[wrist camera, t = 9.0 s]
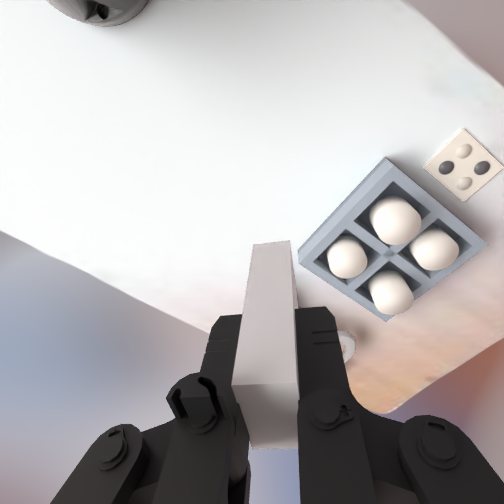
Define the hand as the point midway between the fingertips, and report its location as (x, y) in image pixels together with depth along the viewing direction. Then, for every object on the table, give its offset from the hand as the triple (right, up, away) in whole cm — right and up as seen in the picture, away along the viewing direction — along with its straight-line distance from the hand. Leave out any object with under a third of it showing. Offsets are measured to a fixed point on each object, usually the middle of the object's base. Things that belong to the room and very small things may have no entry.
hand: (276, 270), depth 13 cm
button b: (+19, -4, +34) cm, 40 cm away
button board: (+19, +2, +34) cm, 39 cm away
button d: (+13, +1, +34) cm, 36 cm away
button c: (+17, +6, +28) cm, 34 cm away
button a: (+24, +2, +32) cm, 40 cm away
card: (+27, +12, +28) cm, 40 cm away
